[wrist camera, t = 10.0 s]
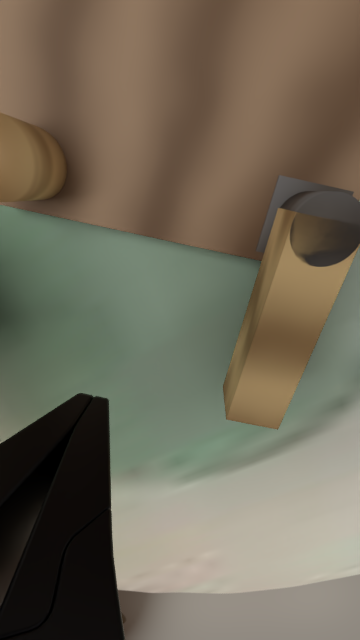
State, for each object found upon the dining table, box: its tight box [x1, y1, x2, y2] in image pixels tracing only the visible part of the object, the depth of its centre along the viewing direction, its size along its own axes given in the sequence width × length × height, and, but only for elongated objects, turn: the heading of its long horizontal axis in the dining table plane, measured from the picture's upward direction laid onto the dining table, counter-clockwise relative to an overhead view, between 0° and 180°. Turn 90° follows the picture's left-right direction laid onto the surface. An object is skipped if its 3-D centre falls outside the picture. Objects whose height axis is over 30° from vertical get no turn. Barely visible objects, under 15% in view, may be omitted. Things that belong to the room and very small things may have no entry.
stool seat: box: [0, 0, 360, 261], centre depth 12 cm, size 20×18×6 cm
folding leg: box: [223, 191, 360, 429], centre depth 16 cm, size 13×3×3 cm, turn 169°
